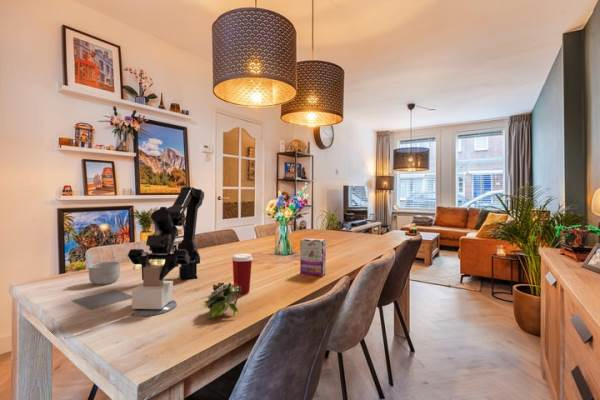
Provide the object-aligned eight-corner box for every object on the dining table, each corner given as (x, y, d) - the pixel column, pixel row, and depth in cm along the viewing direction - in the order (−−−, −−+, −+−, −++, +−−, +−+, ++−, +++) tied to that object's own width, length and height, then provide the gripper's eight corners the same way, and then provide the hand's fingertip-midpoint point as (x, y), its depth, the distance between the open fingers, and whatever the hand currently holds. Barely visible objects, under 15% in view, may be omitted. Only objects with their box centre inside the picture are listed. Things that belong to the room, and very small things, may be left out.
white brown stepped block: (145, 298, 102) (145, 262, 102) (172, 298, 102) (173, 263, 102) (131, 308, 93) (132, 270, 93) (161, 308, 93) (161, 270, 93)
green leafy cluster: (217, 326, 97) (227, 289, 104) (244, 327, 92) (253, 288, 99) (192, 316, 89) (205, 277, 96) (221, 317, 84) (232, 275, 91)
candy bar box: (325, 274, 141) (326, 239, 141) (322, 276, 137) (323, 240, 136) (303, 271, 145) (304, 237, 145) (299, 273, 141) (300, 238, 140)
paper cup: (255, 290, 116) (256, 254, 115) (245, 297, 109) (246, 258, 108) (237, 288, 118) (238, 252, 118) (226, 294, 111) (227, 256, 111)
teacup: (104, 288, 115) (104, 267, 114) (80, 286, 117) (80, 265, 117) (132, 278, 128) (132, 259, 128) (110, 276, 130) (110, 258, 130)
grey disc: (173, 297, 107) (173, 286, 107) (179, 311, 95) (179, 298, 95) (128, 303, 100) (128, 292, 100) (128, 319, 88) (128, 306, 88)
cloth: (126, 268, 147) (126, 255, 147) (160, 261, 163) (161, 249, 162) (153, 275, 135) (153, 262, 135) (188, 267, 151) (188, 255, 151)
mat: (115, 291, 112) (115, 289, 112) (136, 298, 105) (136, 297, 105) (70, 302, 100) (70, 300, 100) (91, 311, 93) (91, 309, 93)
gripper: (130, 224, 100) (110, 266, 90) (187, 225, 101) (174, 266, 90) (142, 244, 109) (125, 284, 98) (194, 244, 109) (183, 284, 99)
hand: (151, 279), depth 96 cm, fingers closed on white brown stepped block, 5 cm apart
